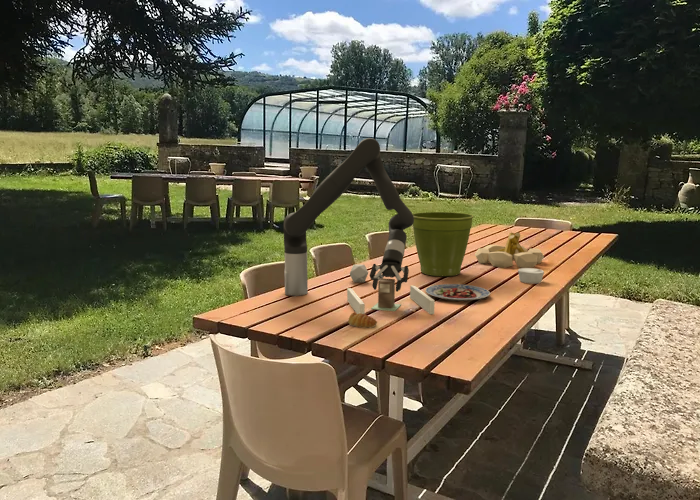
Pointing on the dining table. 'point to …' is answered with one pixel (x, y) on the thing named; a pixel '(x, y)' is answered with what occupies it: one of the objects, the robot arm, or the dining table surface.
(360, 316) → the pastry
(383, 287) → the walnut block
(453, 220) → the plant pot
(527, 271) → the ramekin
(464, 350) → the dining table surface
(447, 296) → the ceramic plate
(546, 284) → the dining table surface
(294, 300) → the dining table surface
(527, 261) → the campfire
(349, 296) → the arena
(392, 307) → the pad
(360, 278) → the die
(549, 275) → the dining table surface
